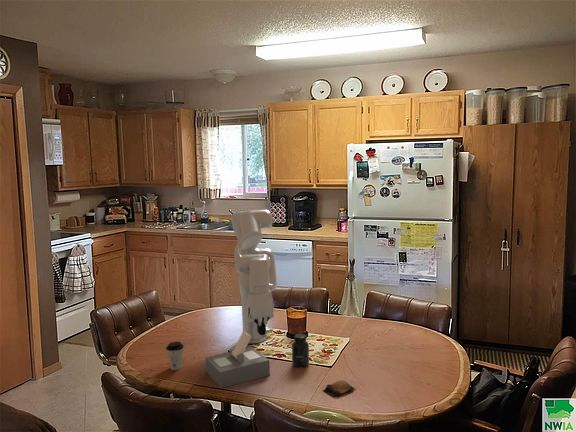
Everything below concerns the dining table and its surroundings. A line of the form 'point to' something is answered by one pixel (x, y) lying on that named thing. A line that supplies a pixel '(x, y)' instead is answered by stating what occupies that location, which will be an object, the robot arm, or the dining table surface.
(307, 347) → the supplement bottle
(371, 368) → the dining table surface
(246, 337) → the switch lever
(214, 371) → the switch box
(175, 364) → the coffee cup
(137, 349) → the dining table surface
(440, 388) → the dining table surface
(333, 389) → the bread roll
